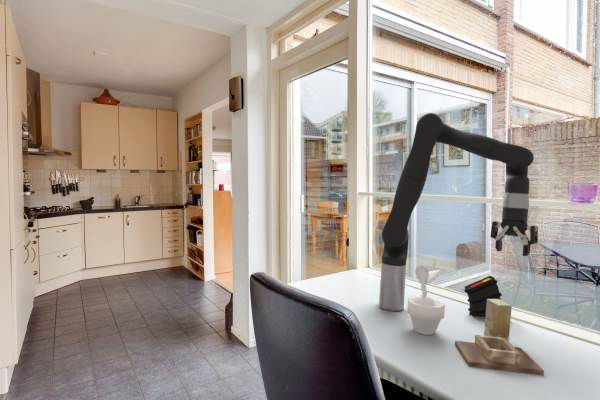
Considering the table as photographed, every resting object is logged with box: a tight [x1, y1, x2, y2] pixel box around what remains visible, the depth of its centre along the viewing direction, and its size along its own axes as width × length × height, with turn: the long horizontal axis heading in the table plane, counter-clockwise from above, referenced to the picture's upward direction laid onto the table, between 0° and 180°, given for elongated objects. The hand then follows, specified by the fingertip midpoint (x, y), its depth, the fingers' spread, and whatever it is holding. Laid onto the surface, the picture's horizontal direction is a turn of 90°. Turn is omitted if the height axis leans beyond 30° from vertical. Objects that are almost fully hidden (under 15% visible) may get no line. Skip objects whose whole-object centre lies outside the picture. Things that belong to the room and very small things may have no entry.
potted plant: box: [406, 259, 446, 336], centre depth 113 cm, size 13×12×25 cm
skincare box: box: [483, 299, 513, 343], centre depth 109 cm, size 6×4×12 cm
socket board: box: [454, 334, 545, 376], centre depth 96 cm, size 18×13×4 cm
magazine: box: [463, 275, 503, 318], centre depth 130 cm, size 4×13×15 cm, turn 92°
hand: (511, 253), depth 120 cm, fingers open, 8 cm apart
